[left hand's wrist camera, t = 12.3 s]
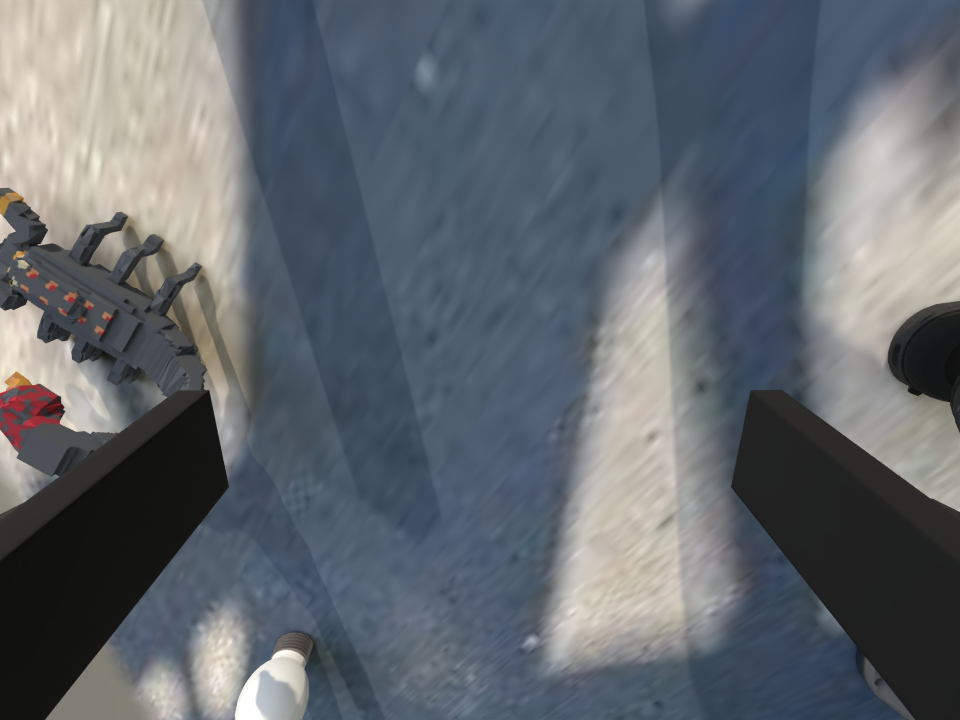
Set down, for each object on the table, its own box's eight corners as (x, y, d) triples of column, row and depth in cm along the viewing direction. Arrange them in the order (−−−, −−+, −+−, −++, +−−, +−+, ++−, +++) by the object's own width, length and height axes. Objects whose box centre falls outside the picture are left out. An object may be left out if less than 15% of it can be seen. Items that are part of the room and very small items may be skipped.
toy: (221, 433, 49) (83, 576, 32) (-61, 262, 43) (-416, 323, 26) (293, 328, 45) (180, 426, 28) (-5, 126, 40) (-375, 93, 22)
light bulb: (306, 615, 57) (268, 713, 47) (335, 656, 59) (304, 758, 49) (254, 632, 58) (205, 733, 48) (284, 672, 60) (244, 776, 50)
